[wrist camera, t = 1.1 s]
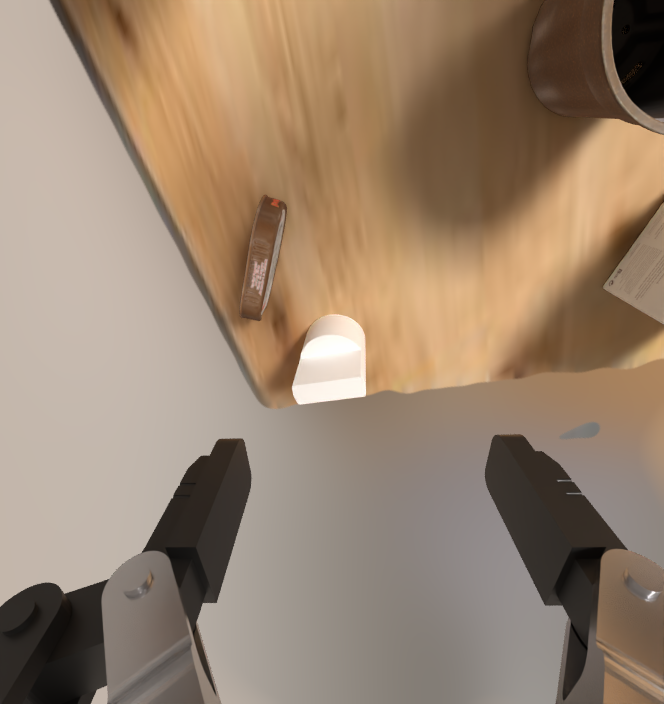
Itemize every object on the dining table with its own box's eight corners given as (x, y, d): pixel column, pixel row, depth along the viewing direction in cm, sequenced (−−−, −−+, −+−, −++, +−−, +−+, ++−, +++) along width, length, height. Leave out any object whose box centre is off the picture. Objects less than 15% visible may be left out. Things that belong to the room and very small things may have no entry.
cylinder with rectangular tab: (314, 368, 52) (303, 421, 42) (299, 319, 48) (282, 366, 38) (369, 360, 51) (371, 414, 41) (359, 309, 46) (358, 355, 36)
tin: (270, 189, 39) (249, 199, 32) (295, 198, 39) (280, 210, 32) (250, 299, 47) (231, 327, 40) (272, 306, 47) (256, 335, 40)
